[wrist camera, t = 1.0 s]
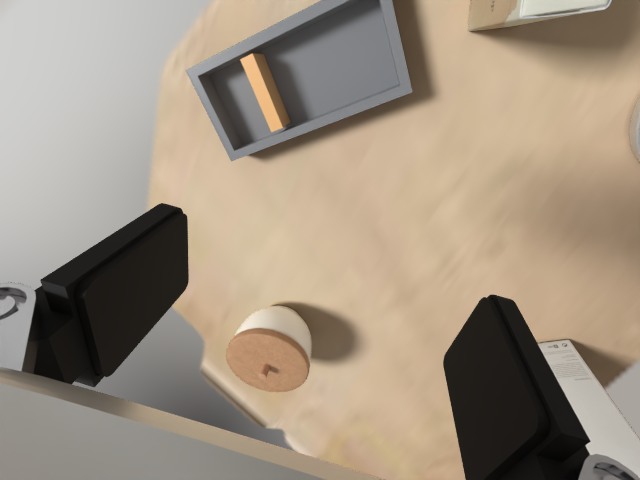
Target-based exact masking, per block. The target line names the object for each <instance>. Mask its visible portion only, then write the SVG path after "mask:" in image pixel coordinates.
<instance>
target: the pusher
mask: <svg viewBox="0 0 640 480" xmlns="http://www.w3.org/2000/svg"><path fill="white" fill-rule="evenodd" d="M240 60H241V63H242V65H243V67H244V70H245V72H246V74H247V77H248V79H249V81H250V84H251V86H252V88H253V91H254V93H255V95H256V98H257V100H258V102H259V105H260V107H261V109H262V112H263V114H264V116H265V119H266V121H267V123H268V126H269V128H270V130H271V132H273V131H276V130H278V129H281V128H283V127H285V126H286V125H287V124H289V123H290V119H289V117H288V114H287V112H286V109H285V107H284V104H283V102H282V99H281V97H280V94H279V92H278V89H277V87H276V84H275V82H274V79H273V76H272V74H271V71H270V69H269V66H268V64H267V61H266V59H265V56H264V54H255V53H252V54H250V55H248V56H246V57H244V58H242V59H240Z"/></svg>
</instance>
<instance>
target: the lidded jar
mask: <svg viewBox="0 0 640 480" xmlns="http://www.w3.org/2000/svg"><path fill="white" fill-rule="evenodd" d="M311 352H312V342H311V335H310V332H309V329H308V327H307V325H306V323H305V322H304V320H303V319H302V318H301V317H300V316H299V314H298V313H297V312H296V311H294V310H293V309H291V308H289V307H286V306H281V305H275V306H271V307H265V308H262V309H259V310H257V311H255V312H254V313H252V314H251V315H250V316H249V317H247V319H246V320H245V321H244V322H243V323H242V325H241V326H240V327H239V329H238V330H237V332H236V334H235V335H234V337H233V339H232V340H231V341H230V343H229V345H228V347H227V350H226V359H227V363H228V365H229V367H230V369H231V370H232V371H233V373H234V374H235V375H236V376H237V377H238V378H240V379H241V380H242V381H244V382H245V383H247V384H249V385H251V386H253V387H255V388H258V389H261V390H265V391H270V392H286V391H290V390H293V389H296V388H297V387H299V386H301V385H302V384H303V383H304V382H305V380H306V379H307V377H308V374H309V368H310V359H311Z"/></svg>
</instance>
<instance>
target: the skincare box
mask: <svg viewBox="0 0 640 480" xmlns="http://www.w3.org/2000/svg"><path fill="white" fill-rule="evenodd" d="M537 344H538V346H539V347H540V349H541V351H542V353H543V355H544V357H545V358H546V360H547V362H548V364H549V366H550V368H551V369H552V371H553V373H554V375H555V377H556V379H557V380H558V382H559V384H560V386H561V388H562V390H563V391H564V393H565V395H566V397H567V399H568V401H569V403H570V404H571V406H572V408H573V410H574V412H575V414H576V415H577V417H578V419H579V421H580V423H581V425H582V426H583V428H584V430H585V432H586V434H587V436H588V437H589V439H590V441H591V442H589V443H588V444H587V445H585V446H586V448H587V450H588V452H589V453H590V455H593V454H600V455H604V456H608V457H610V458H612V459H614V460H616V461H618V462H620V463H621V464H623V465H624V466H626V467H627V468H629V469H630V470H631V471H633V472H634V473H635V474H636V475H637V476H638V477H639V478H640V438H639V437H638V436H637V434H636V433H635V431H634V430H633V429H632V427H631V426H630V424H629V423H628V422H627V420H626V419H625V417H624V416H623V415H622V413H621V412H620V410H619V409H618V408H617V406H616V405H615V403H614V402H613V401H612V399H611V398H610V396H609V395H608V394H607V392H606V391H605V389H604V388H603V387H602V385H601V384H600V382H599V381H598V380H597V378H596V377H595V375H594V374H593V373H592V371H591V370H590V368H589V367H588V366H587V364H586V363H585V361H584V360H583V359H582V357H581V356H580V354H579V353H578V351H577V350H576V349H575V347H574V346H573V344H572V343H571V341H570V340H558V341H551V342H543V343H537Z"/></svg>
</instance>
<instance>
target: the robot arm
mask: <svg viewBox="0 0 640 480" xmlns="http://www.w3.org/2000/svg"><path fill="white" fill-rule="evenodd" d="M629 138H630V146H631V149H632V151H633V153H634V156H635V157H636V159H637V160H638V161H639V162H640V98H639V99H638V101H637V103H636V105H635V108H634V111H633V114H632V117H631V121H630V129H629ZM188 280H189V279H188V227H187V216H186V215H185V214H183V211H182V209H181V208H178V207H175V206H171V205H167V204H163V203H161V204H159V205H157V206H156V207H154V208H152V209H151V210H149V211H148V212H146V213H145V214H143V215H142V216H140V217H138V218H137V219H135V220H134V221H132V222H130V223H129V224H127V225H126V226H124V227H123V228H121V229H119V230H118V231H116V232H115V233H113V234H112V235H110V236H109V237H107V238H105V239H104V240H102V241H101V242H99V243H98V244H96V245H94V246H93V247H91V248H90V249H88V250H87V251H85V252H83V253H82V254H80V255H79V256H77V257H76V258H74V259H72V260H71V261H69V262H68V263H66V264H65V265H63V266H61V267H60V268H58V269H57V270H55V271H54V272H52V273H50V274H49V275H47V276H46V277H44V278H43V279H41V283H42V286H41V287H39V288H37V289H36V290H33V289H32V288H31V287H29V286H27V285H24V284H21V283H12V282H11V283H0V480H385V479H382V478H378V477H375V476H372V475H369V474H366V473H362V472H359V471H356V470H353V469H350V468H346V467H343V466H340V465H337V464H333V463H330V462H327V461H324V460H320V459H317V458H314V457H311V456H308V455H304V454H301V453H298V452H295V451H291V450H288V449H285V448H282V447H278V446H275V445H272V444H268V443H265V442H262V441H258V440H256V439H252V438H249V437H246V436H242V435H239V434H236V433H233V432H229V431H226V430H223V429H220V428H216V427H213V426H210V425H206V424H203V423H199V422H196V421H193V420H190V419H187V418H183V417H180V416H176V415H173V414H170V413H167V412H163V411H160V410H157V409H154V408H150V407H147V406H144V405H140V404H137V403H133V402H130V401H127V400H124V399H120V398H117V397H114V396H110V395H107V394H103V393H100V392H96V391H93V390H89V389H85V388H82V387H79V386H75V385H72V383H73V382H74V381H75V382H79V383H82V384H85V385H88V386H92V387H95V386H96V385H97V384H98V383H99V382H100V380H101V379H102V378H103V377H104V376H105V377H108V376H110V375H111V374H113V373H114V372H115V370H116V369H117V368H118V367H119V366H120V365H121V363H122V362H123V361H124V360H125V359H126V358H127V357H128V355H129V354H130V353H131V352H132V351H133V350H134V348H135V347H136V346H137V345H138V343H140V341H141V340H142V339H143V338H144V337H145V336H146V335H147V334H148V332H149V331H150V330H151V329H152V328H153V326H154V325H155V324H156V323H157V322H158V321H159V320H160V318H161V317H162V316H163V315H164V314H165V313H166V312H167V310H168V309H169V308H170V307H171V306H172V305H173V304H174V302H175V301H176V300H177V299H178V298H179V297H180V295H181V294H182V293H183V292H184V291H185V289H186V287H187V285H188ZM443 365H444V371H445V376H446V381H447V386H448V391H449V396H450V401H451V406H452V412H453V417H454V422H455V427H456V432H457V437H458V442H459V447H460V452H461V457H462V462H463V468H464V473H465V478H466V480H640V478H639V477H638V476H637V475H636V474H635V473H634V472H633V471H631V470H630V469H629V468H627V467H626V466H624V465H623V464H621V463H620V462H618V461H616V460H614V459H612V458H610V457H608V456H604V455H600V454H593V455H590V453H589V452H588V450H587V448H586V446H585V445H587V444H588V443H589V442H591V441H590V439H589V437H588V436H587V434H586V432H585V430H584V428H583V426H582V425H581V423H580V421H579V419H578V417H577V415H576V414H575V412H574V410H573V408H572V406H571V404H570V403H569V401H568V399H567V397H566V395H565V393H564V391H563V390H562V388H561V386H560V384H559V382H558V380H557V379H556V377H555V375H554V373H553V371H552V369H551V368H550V366H549V364H548V362H547V360H546V358H545V357H544V355H543V353H542V351H541V349H540V347H539V346H538V344H537V342H536V340H535V338H534V336H533V335H532V333H531V331H530V329H529V327H528V325H527V324H526V322H525V320H524V318H523V316H522V314H521V312H520V311H519V309H518V307H517V305H516V303H515V302H514V301H513V300H511V299H507V298H504V297H500V296H497V295H490V296H488V297H487V298H486V297H483V298H482V299H481V300H480V301H479V303H478V304H477V306H476V307H475V309H474V311H473V312H472V314H471V315H470V317H469V318H468V320H467V321H466V323H465V324H464V326H463V328H462V329H461V331H460V332H459V334H458V335H457V337H456V338H455V340H454V341H453V343H452V345H451V346H450V348H449V349H448V351H447V352H446V354H445V356H444V361H443Z"/></svg>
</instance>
